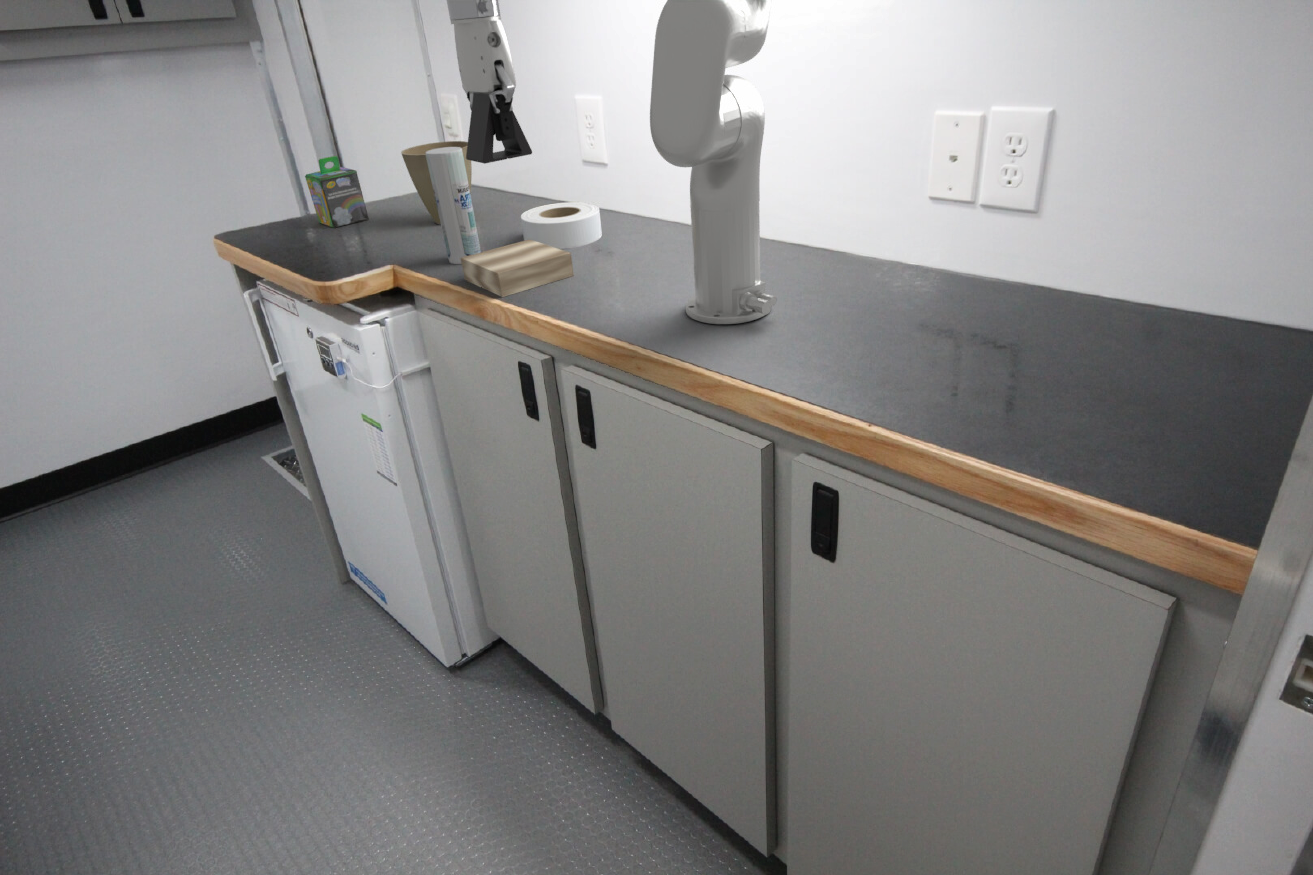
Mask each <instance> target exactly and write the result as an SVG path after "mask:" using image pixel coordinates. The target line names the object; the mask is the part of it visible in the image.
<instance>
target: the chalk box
mask: <svg viewBox="0 0 1313 875" xmlns="http://www.w3.org/2000/svg"><path fill="white" fill-rule="evenodd" d="M327 163H333V165H332V167H329V168H328V167H326V164H327ZM318 165H319V170H318V171H314V172H311V173H306V174H305V175H304V177H305V181H306V184H307V188H308V190H309V194H310V197H311V201H312V205H313V208H314V210H315V213H316V217H317V220H318V223H319V224H322V225H325V226H326V227H331V228H333V229H336V228H339V227H343V226H347V225H351V224H356V223H360V222H364V221H368V220H369V214H368V211H367V208H366V207H367V206H366V203H365V199H364V196H363V195H364V194H363V191H362V188H361V183H360V179H359V176H358V170H354V169H351V168H347V167H343V166H340V160H339V157H338V156H337V155H333V156H326V157H322V158H319V159H318Z"/></svg>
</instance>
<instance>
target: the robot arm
mask: <svg viewBox="0 0 1313 875" xmlns="http://www.w3.org/2000/svg"><path fill="white" fill-rule="evenodd" d="M446 5H447V9H448V15H449V20H450V25H453V32H454V41H455V42H454V43H455V51H456V52H455V53H456V58H457V64H458V70H459V75H460V81H461V84H462V89H463V91H464V93H465V94H466V99H467V101H468V102H469V108H470V110H471V111H472V102H473V93H477V94H489V97H490V101H491V105H492V108H493V111H494V113H495V114H492V118H493V124H494V136H495V140H496V141H497V142H502V141H504V140H509V139H514V138H515V130H514V124H513V117H512V110H514V109H513V104H512V103H513V101H514V94H515V91H516V90H515V89H516V88H517V82H516V81H517V80H516V74H515V70H514V63H513V58H512V54H511V49H510V45H509V41H508V37H507V34H506V30H505V27H504V24H503V21H502V17H501V11H500V10H501V9H500V4H499V0H446ZM771 6H772V0H666V2H665V4H664V5H663V7H662V10H661V12H660V15H659V17H658V21H657V25H656V28H655V29H656V30H655V38H654V46H653V47H654V49H653V61H652V62H653V63H652V75H651V89H650V90H651V91H650V104H649V126H650V134H651V138H652V141H653V145H654V147H655V149H656V151H657V152H658V154H659V155H660V156H661V157H662V158H663V160H664V161H666V162H668V163H669V164H670V165H672V166H675V167H679V168H691V170H690V181H689V199H690V200H689V203H690V205H689V206H690V221H691V222H690V223H691V239H692V256H693V258H692V259H693V272H694V273H693V274H694V275H693V276H694V291H695V294H694V295H693V296H691V297H690V298H689V299H688V300H687V301H686V303H685V313H686V314H687V316H688V317H689V318H691V319H693V320H695V321H696V322H697V321H698V322H701V323H704V324H705V323H706V324H709V325H711V324H713V325H734V324H737V325H738V324H744V323H747V322H748V323H749V322H752V321H754V320H755V321H756V320H758V319H761V318H763V317H764V316H766V315H768V314H769V313H771V311H772V307H774V306H775V305H777V302H778V298H777V296H775V295H773V294H768V293H766V281H763V280H761V241H760V240H761V239H760V237H761V234H760V231H761V230H760V229H761V228H760V226H761V225H760V224H761V223H760V198H761V197H760V171H761V170H760V166H761V155H762V149H763V148H762V147H763V140H764V133H765V132H764V131H765V124H766V123H765V121H766V120H765V119H766V118H765V117H766V116H765V115H766V114H765V107H764V103H763V100H762V97H761V94H760V93H759V91H758V89H757V88H756V87H755V86H754V84H752V83H751V82H750V81H749V80H747V79H745V78H744V77H741V76H738V75H734V74H725V73H726V69H728V68H732V67H735V66H739V65H742V64H744V63H747V62H749V61H751V60H752V59H754V58H755V57H756V56H757V55H759V53H760V52H761V50H762V48H763V46H764V44H765V42H766V38H767V33H768V27H769V22H770V14H771V8H772V7H771ZM499 87H500V89H501V90H497V91H494V89H497V88H499ZM498 96H499V100H498V102H497V99H496V97H498Z"/></svg>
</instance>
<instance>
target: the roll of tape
mask: <svg viewBox="0 0 1313 875" xmlns="http://www.w3.org/2000/svg"><path fill="white" fill-rule="evenodd" d="M520 222H521V229H522V236H523V241H525V240H529V239H530V240H533V241H536V242H539V243H542V244H545V245H548V246H551V247H554V248H557V249H560V250H567V249H573V248H578V247H583V246H587V245H590V244H592V243H595V242H596V241H598V240H600V239H601V237H602V236H603V232H602V222H601V214H600V206H599V205H596V204H593V203H590V202H579V201H577V202H576V201H574V202H557V203H552V204H551V203H550V204H545V205H540V206H536V207H532V208H530V209H529V210H528V209H527V210H526V211H524V212H523V213H521V215H520Z"/></svg>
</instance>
